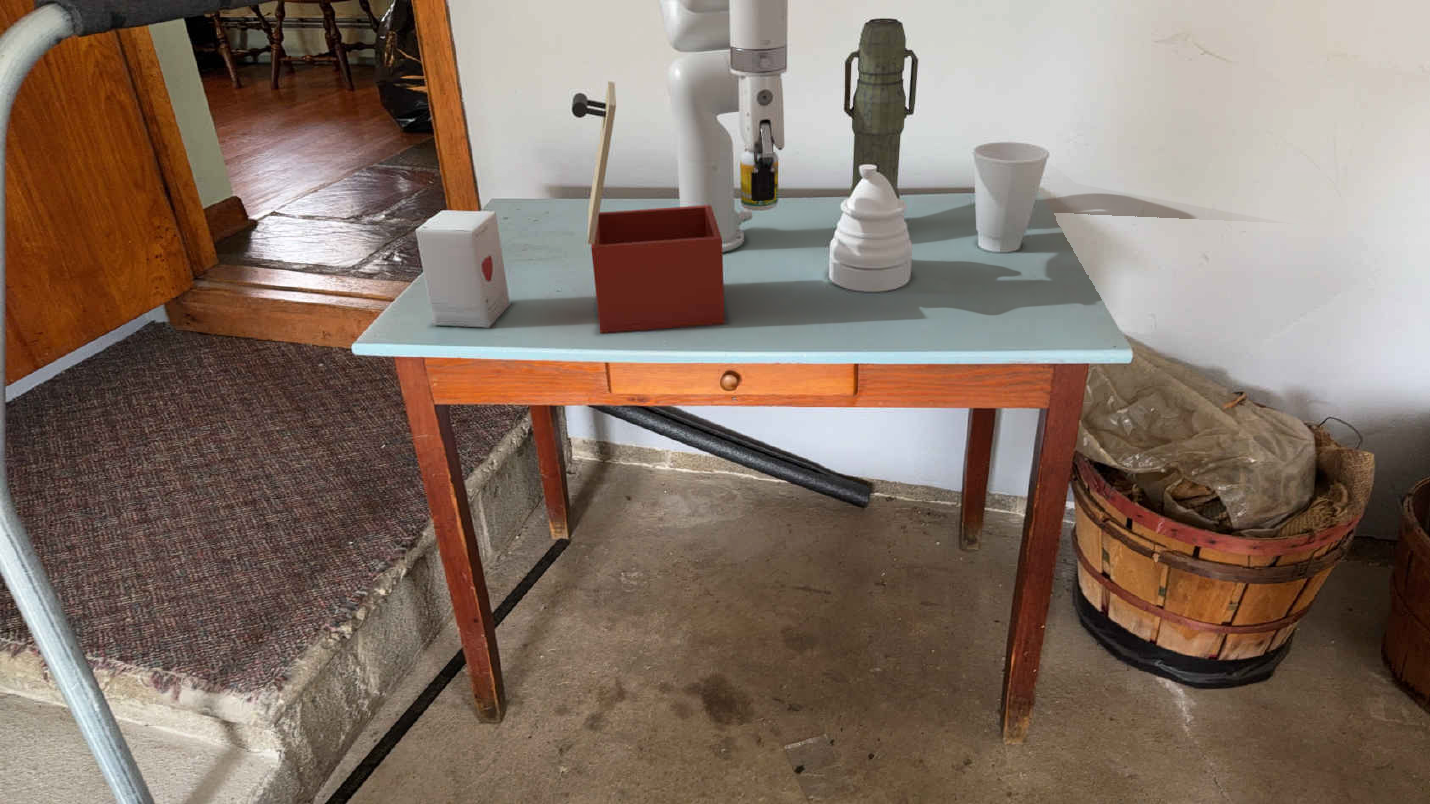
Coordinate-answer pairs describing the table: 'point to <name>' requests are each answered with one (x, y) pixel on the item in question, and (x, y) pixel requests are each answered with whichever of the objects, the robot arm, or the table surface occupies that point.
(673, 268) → the red open box
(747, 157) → the supplement bottle
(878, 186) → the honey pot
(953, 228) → the table surface
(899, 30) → the olive green vase
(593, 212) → the lid
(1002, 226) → the cup
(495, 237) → the rectangular carton
